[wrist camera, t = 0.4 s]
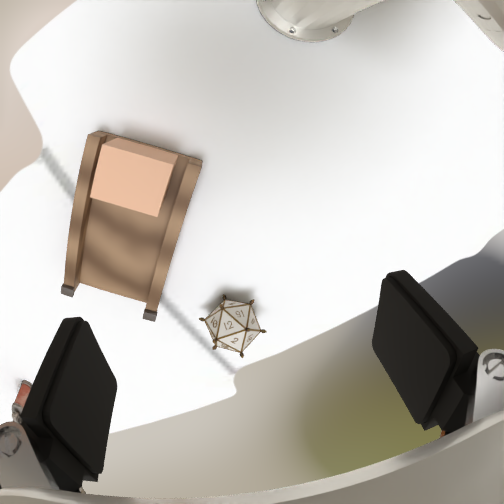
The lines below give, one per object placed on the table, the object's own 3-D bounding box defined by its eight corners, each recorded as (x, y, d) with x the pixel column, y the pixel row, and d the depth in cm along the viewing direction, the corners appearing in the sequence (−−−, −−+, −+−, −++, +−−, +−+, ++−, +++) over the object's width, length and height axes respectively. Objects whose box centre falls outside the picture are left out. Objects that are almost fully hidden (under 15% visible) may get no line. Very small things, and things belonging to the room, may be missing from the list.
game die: (237, 302, 53) (255, 359, 49) (188, 308, 49) (205, 370, 45) (260, 278, 46) (283, 343, 42) (205, 283, 42) (226, 356, 38)
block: (117, 137, 34) (102, 144, 29) (178, 155, 37) (173, 164, 31) (105, 183, 37) (90, 197, 31) (164, 200, 39) (157, 217, 34)
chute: (98, 130, 35) (84, 135, 30) (203, 161, 39) (202, 168, 34) (71, 276, 43) (61, 293, 39) (158, 301, 47) (154, 321, 43)
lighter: (35, 402, 56) (24, 435, 47) (23, 397, 55) (11, 429, 46) (33, 383, 53) (20, 418, 44) (20, 378, 52) (6, 411, 43)
